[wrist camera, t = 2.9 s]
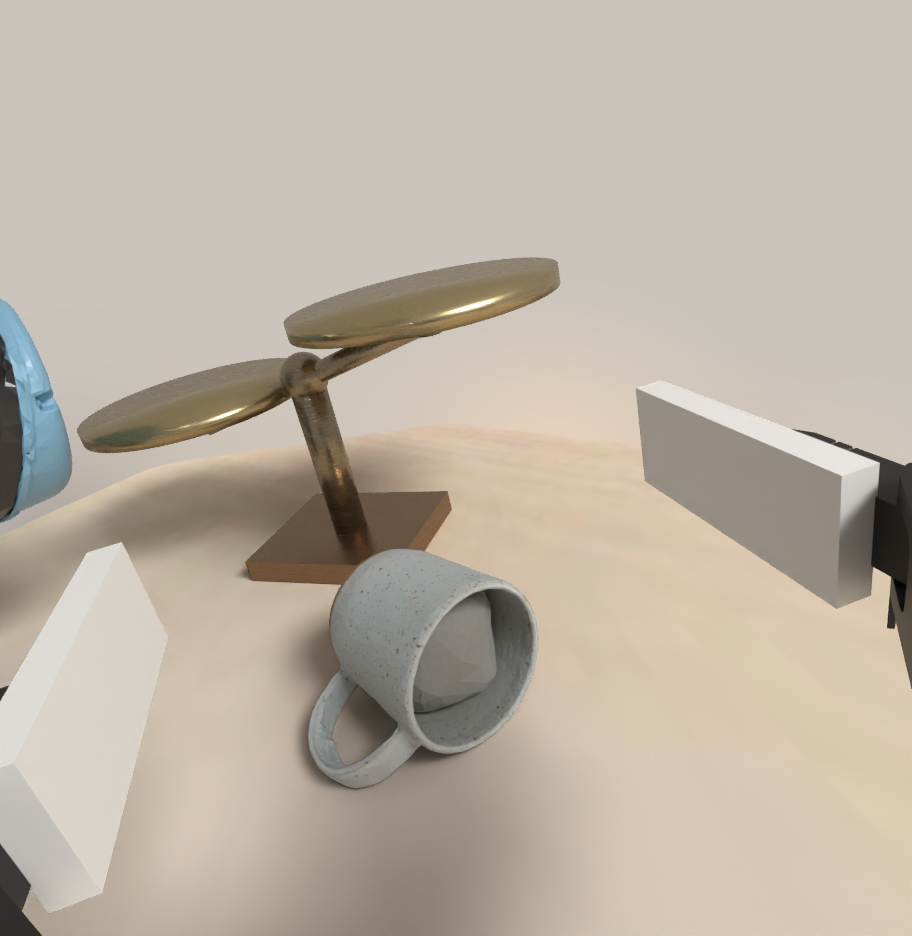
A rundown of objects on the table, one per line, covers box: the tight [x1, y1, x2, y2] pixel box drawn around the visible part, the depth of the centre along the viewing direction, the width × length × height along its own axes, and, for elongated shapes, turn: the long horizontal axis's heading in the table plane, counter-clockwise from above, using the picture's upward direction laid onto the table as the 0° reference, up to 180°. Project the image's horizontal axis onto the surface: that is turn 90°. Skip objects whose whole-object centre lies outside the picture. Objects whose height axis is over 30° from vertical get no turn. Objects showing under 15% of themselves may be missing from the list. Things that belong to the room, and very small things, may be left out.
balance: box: [77, 258, 560, 584], centre depth 44 cm, size 35×16×18 cm, turn 71°
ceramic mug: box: [308, 549, 538, 788], centre depth 29 cm, size 11×8×8 cm
